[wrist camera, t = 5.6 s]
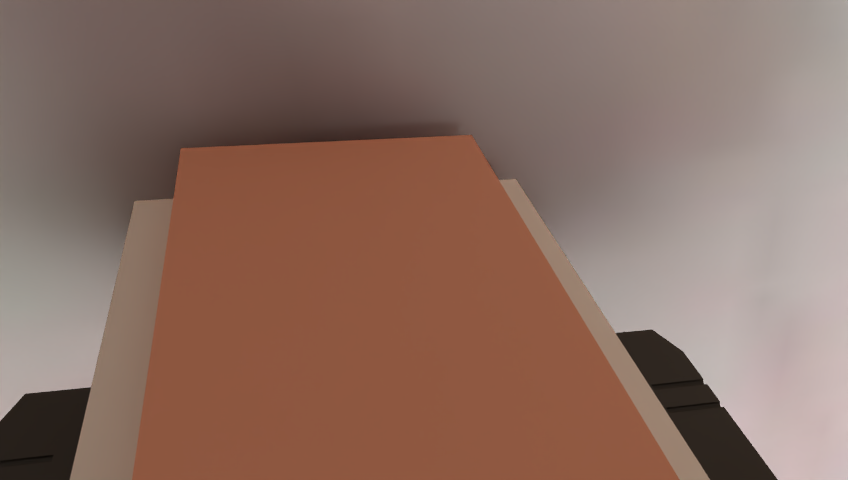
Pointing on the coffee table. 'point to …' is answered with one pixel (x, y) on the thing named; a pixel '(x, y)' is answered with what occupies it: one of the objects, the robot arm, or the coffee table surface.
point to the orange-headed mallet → (371, 327)
